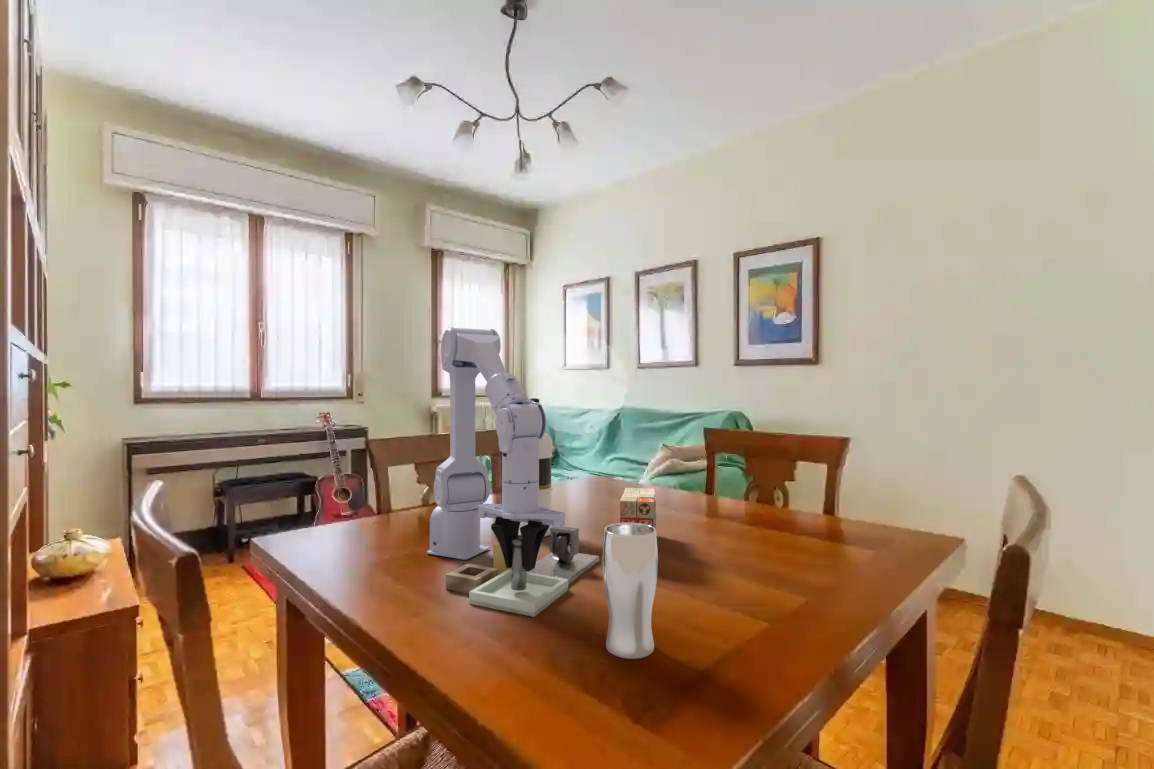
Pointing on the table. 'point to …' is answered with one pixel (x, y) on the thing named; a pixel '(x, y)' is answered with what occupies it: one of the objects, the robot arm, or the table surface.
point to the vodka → (544, 474)
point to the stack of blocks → (638, 506)
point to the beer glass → (630, 587)
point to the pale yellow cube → (499, 559)
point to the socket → (469, 577)
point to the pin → (518, 564)
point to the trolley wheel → (564, 556)
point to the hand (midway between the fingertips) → (520, 567)
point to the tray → (519, 593)
